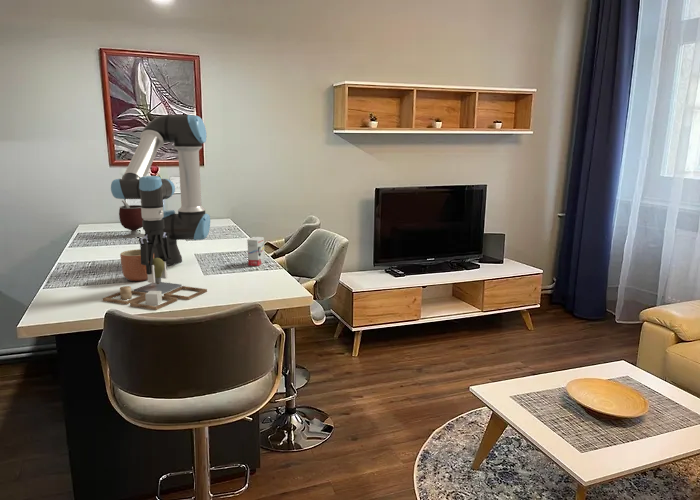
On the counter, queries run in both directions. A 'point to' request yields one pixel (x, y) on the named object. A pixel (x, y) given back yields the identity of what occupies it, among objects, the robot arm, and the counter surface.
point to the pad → (158, 287)
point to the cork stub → (125, 292)
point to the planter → (133, 265)
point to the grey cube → (153, 297)
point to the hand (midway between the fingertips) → (157, 280)
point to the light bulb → (158, 269)
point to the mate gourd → (131, 219)
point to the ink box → (256, 251)
